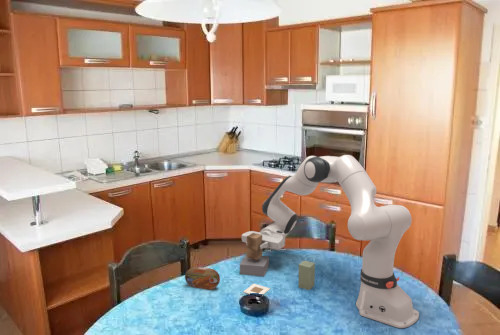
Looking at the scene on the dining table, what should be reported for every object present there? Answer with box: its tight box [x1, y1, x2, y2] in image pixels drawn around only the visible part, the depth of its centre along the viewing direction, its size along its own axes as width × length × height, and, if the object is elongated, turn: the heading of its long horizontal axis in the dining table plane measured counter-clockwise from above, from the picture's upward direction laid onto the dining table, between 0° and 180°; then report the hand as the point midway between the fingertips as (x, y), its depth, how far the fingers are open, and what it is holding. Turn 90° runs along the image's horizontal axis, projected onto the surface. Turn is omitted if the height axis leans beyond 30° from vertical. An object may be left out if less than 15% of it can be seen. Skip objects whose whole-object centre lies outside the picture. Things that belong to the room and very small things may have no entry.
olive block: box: [297, 260, 316, 291], centre depth 173 cm, size 5×5×10 cm
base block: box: [239, 253, 270, 277], centre depth 189 cm, size 11×11×5 cm
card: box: [243, 283, 271, 295], centre depth 171 cm, size 8×8×1 cm
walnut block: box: [246, 233, 263, 260], centre depth 187 cm, size 5×5×10 cm
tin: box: [184, 266, 221, 291], centre depth 174 cm, size 15×3×8 cm, turn 73°
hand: (253, 245), depth 186 cm, fingers closed on walnut block, 5 cm apart
